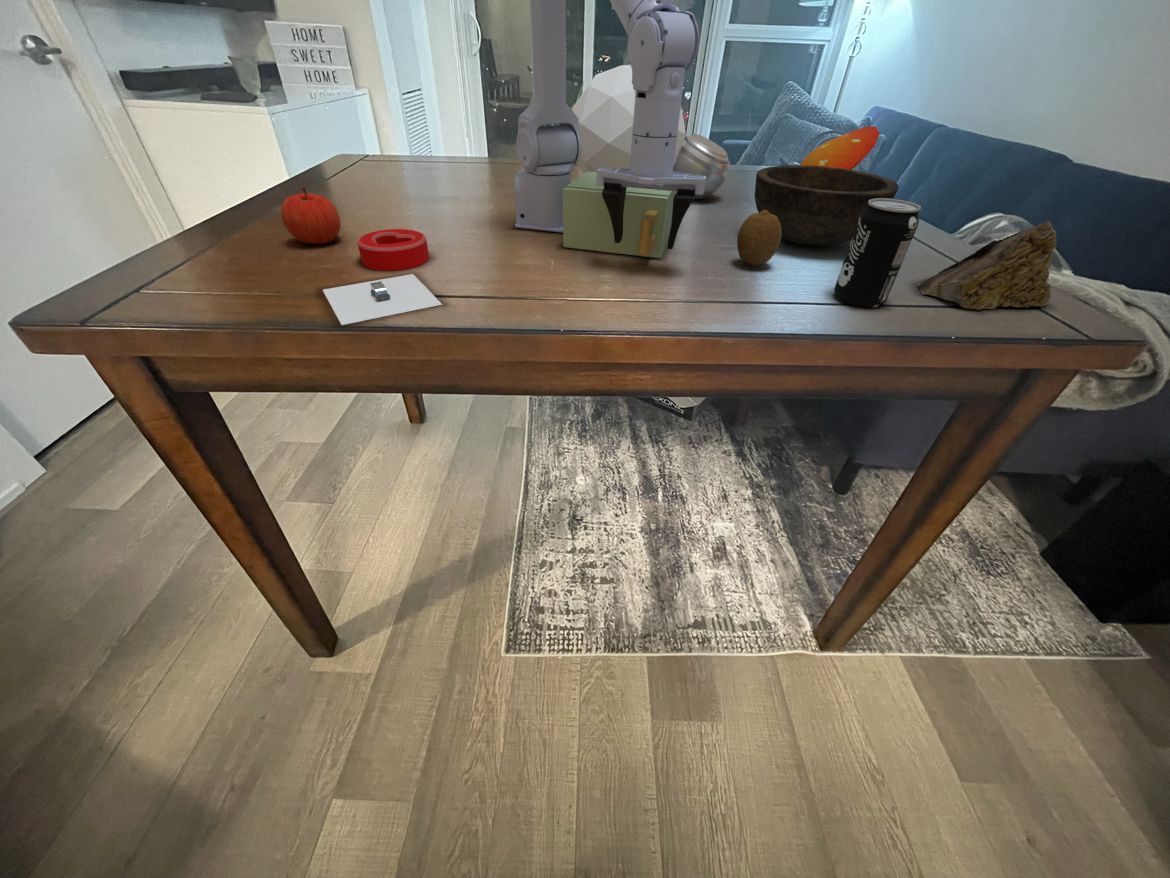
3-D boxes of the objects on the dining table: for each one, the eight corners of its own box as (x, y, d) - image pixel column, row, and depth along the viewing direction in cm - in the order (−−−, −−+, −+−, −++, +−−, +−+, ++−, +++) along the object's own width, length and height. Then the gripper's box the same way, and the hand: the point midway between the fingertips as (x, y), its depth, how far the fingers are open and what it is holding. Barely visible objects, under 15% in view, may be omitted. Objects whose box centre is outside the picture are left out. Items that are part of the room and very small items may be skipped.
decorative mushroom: (834, 197, 114) (858, 120, 105) (866, 222, 98) (898, 134, 89) (768, 194, 115) (786, 117, 106) (789, 218, 99) (812, 130, 89)
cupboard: (661, 257, 79) (669, 195, 73) (565, 245, 82) (565, 185, 77) (672, 235, 88) (679, 179, 83) (585, 226, 91) (586, 171, 86)
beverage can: (823, 290, 70) (854, 197, 62) (868, 289, 70) (904, 197, 63) (846, 309, 65) (883, 211, 57) (894, 309, 65) (937, 211, 58)
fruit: (723, 261, 78) (734, 206, 73) (756, 256, 80) (768, 203, 75) (748, 274, 74) (762, 217, 69) (782, 269, 76) (797, 213, 71)
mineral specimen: (891, 261, 72) (995, 195, 69) (909, 331, 79) (1004, 274, 76) (953, 287, 62) (1078, 211, 59) (967, 364, 69) (1079, 301, 66)
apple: (282, 241, 80) (264, 186, 75) (331, 231, 85) (317, 179, 80) (304, 253, 76) (286, 196, 71) (354, 242, 81) (340, 188, 76)
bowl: (874, 234, 92) (897, 173, 85) (874, 271, 76) (901, 201, 70) (754, 217, 99) (767, 160, 92) (731, 249, 83) (745, 182, 77)
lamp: (557, 153, 117) (598, 28, 100) (689, 214, 124) (746, 107, 108) (545, 187, 100) (591, 46, 84) (697, 255, 108) (767, 137, 92)
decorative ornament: (354, 270, 71) (348, 248, 69) (372, 248, 79) (367, 227, 77) (422, 270, 72) (418, 248, 70) (434, 249, 79) (431, 228, 77)
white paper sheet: (341, 325, 58) (337, 312, 57) (322, 289, 65) (318, 278, 65) (442, 304, 63) (440, 293, 62) (413, 273, 71) (411, 263, 70)
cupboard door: (655, 269, 74) (662, 207, 69) (552, 257, 77) (551, 196, 72) (661, 256, 79) (668, 196, 73) (564, 245, 82) (564, 187, 76)
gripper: (591, 135, 62) (588, 246, 71) (709, 142, 59) (691, 258, 68) (605, 128, 67) (600, 232, 76) (713, 135, 65) (696, 243, 73)
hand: (644, 243), depth 72 cm, fingers open, 7 cm apart
